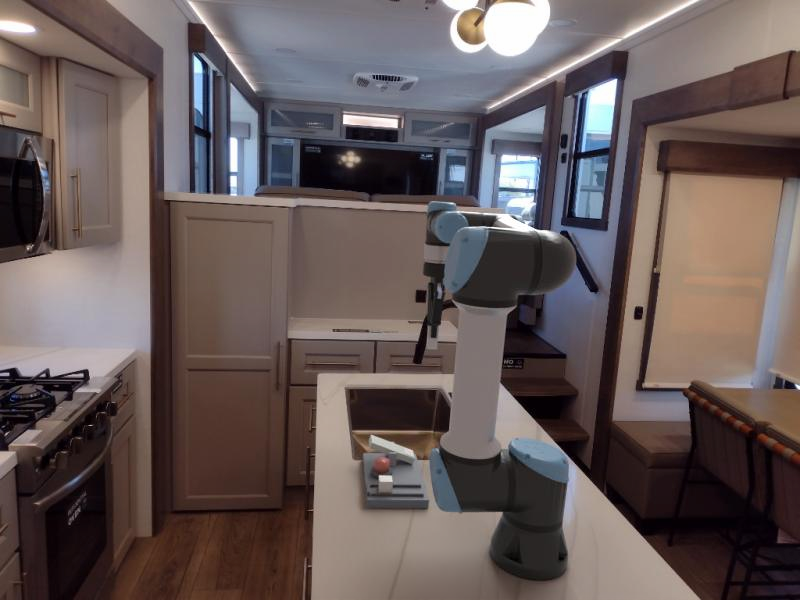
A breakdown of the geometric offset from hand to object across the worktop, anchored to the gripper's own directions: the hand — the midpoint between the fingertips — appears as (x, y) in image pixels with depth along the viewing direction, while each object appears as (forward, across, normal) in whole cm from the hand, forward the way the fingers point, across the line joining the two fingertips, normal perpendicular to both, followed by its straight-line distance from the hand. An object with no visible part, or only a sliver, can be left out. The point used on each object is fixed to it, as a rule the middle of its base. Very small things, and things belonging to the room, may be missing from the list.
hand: (431, 348), depth 156 cm
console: (+30, -18, +10) cm, 36 cm away
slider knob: (+27, -26, +13) cm, 40 cm away
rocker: (+25, -10, +10) cm, 28 cm away
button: (+26, -18, +13) cm, 34 cm away
